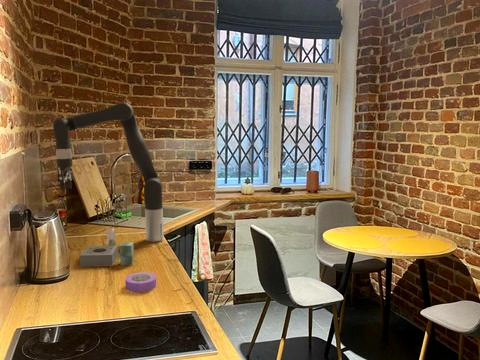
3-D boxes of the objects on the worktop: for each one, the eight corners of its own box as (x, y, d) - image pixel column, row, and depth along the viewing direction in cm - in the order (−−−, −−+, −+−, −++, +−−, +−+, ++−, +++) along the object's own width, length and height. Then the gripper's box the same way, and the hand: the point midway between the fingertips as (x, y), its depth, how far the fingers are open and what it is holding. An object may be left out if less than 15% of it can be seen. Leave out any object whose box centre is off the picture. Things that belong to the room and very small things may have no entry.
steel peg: (116, 249, 218) (115, 227, 216) (114, 251, 214) (114, 229, 212) (108, 249, 217) (107, 227, 216) (106, 251, 213) (105, 229, 212)
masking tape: (161, 283, 174) (161, 274, 173) (145, 294, 163) (145, 284, 162) (136, 279, 177) (136, 270, 177) (119, 290, 167) (119, 280, 166)
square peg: (133, 261, 200) (133, 242, 198) (132, 265, 195) (131, 245, 193) (122, 261, 199) (122, 242, 198) (120, 265, 194) (119, 245, 193)
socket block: (118, 255, 207) (118, 245, 206) (112, 265, 193) (111, 254, 193) (88, 256, 206) (87, 246, 205) (80, 266, 192) (79, 255, 191)
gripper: (66, 158, 216) (68, 190, 217) (76, 157, 230) (78, 187, 231) (51, 158, 215) (53, 191, 217) (62, 157, 230) (64, 188, 231)
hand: (66, 189), depth 224 cm, fingers open, 8 cm apart
